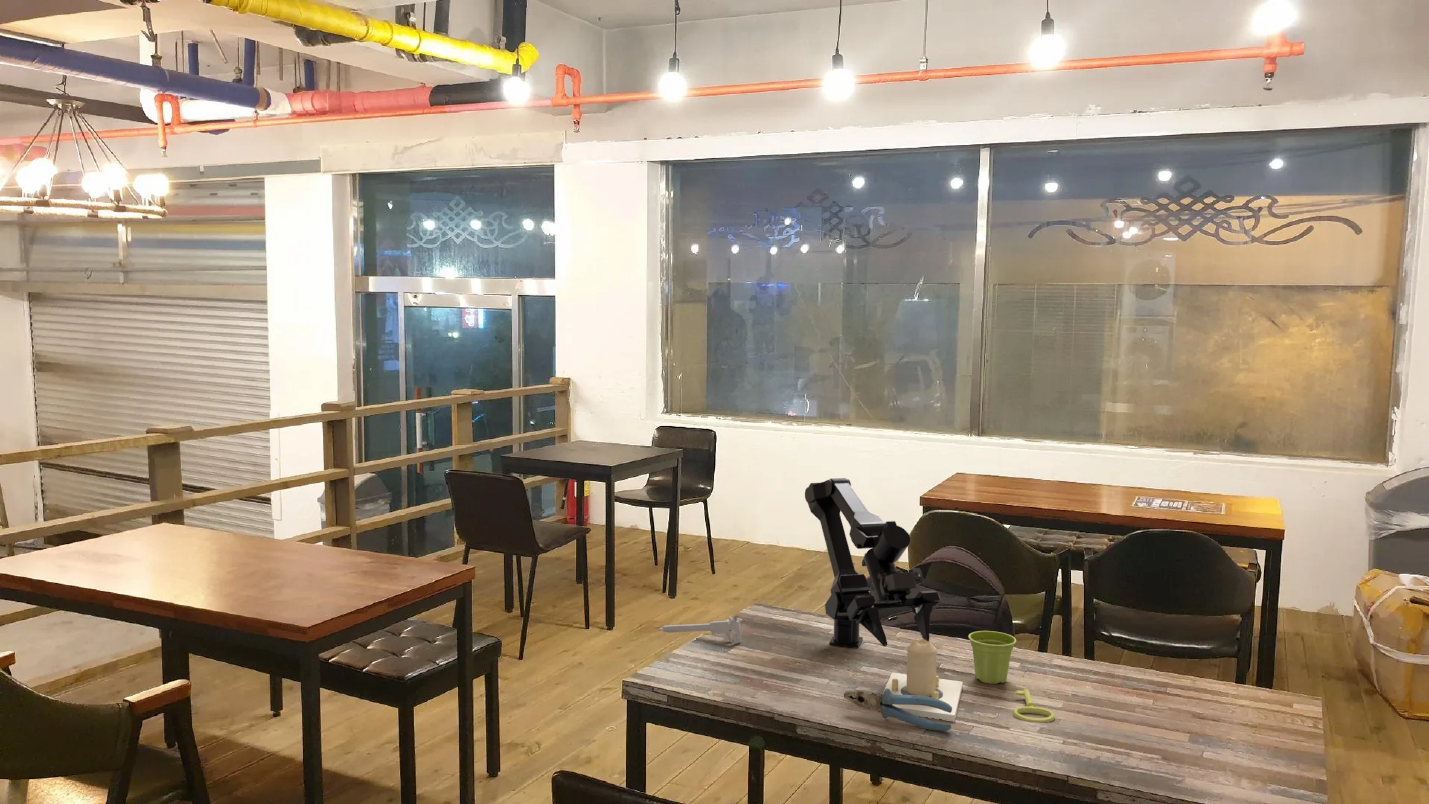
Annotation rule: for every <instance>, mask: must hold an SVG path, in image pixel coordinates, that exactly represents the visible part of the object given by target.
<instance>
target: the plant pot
mask: <svg viewBox="0 0 1429 804" xmlns="http://www.w3.org/2000/svg"><path fill="white" fill-rule="evenodd" d="M968 639H969V641H970V646H971V647H972V654H973V655H972V656H973V663H974V665H973V667H974V673H975V679H976V680H979V681H980V682H982V683H984V684H990V685H995V684H996V685H997V684H999V683H1002V684H1004V683H1005V682H1007V680H1008V673H1009V667H1010V661H1011V656H1012V652H1013V650H1014V646H1015V644H1017V639H1016V638H1015V636H1013V635H1011V634H1007V633H1005V632H999V631H993V630H992V631H991V630H979V631H978V630H977V631H973V632H971V633H969V634H968Z"/></svg>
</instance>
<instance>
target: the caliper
mask: <svg viewBox="0 0 1429 804" xmlns="http://www.w3.org/2000/svg"><path fill="white" fill-rule="evenodd" d="M732 630H733V631H734V633H735V638H736V643H737V644H739V643H741V642H742V627H741V622H740V620H738V619H737V615H734V616H733V617H732V615H730V616H729V617H728V620H719V621H717V620H716V621H714V620H713V621H711V622H709V623H690V624H688V623H687V624H670V625H663V626H662V627H660V628H658V630H657V631H659V632H661V631H662V632H663V633H686V632H687V633H688V632H710V631H711V634H712V635H716V634H717V635H719V634H722V633H725V634H726V637H727V639H728V641H729V643H731V644H732V643H734V642H735V639H734V635H733V631H732Z"/></svg>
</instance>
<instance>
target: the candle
mask: <svg viewBox="0 0 1429 804" xmlns="http://www.w3.org/2000/svg"><path fill="white" fill-rule="evenodd" d="M906 651H907V652H906V657H907V658H906V675H907V692H908V693H909V694H911V695H921V696H927V697H929V696H932V691H936V675H937V652H938V651H937V648H936V647H935V646H934V645H933V644H932V642H931V641H930V640H929V641H926V640H925V639H923V638H922V639H920V640H917V639H913V641H912V642H911V643H910V644H909V645H908V646H907V650H906Z"/></svg>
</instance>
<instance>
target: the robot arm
mask: <svg viewBox="0 0 1429 804" xmlns="http://www.w3.org/2000/svg"><path fill="white" fill-rule="evenodd" d="M804 498H805V501H806V503H807V505H808V508H809V511H810V513H811V514H812V515H813V516H814V517H816V519H817V520H819V522H820V527H821V530H822V534H823V538H824V542H825V545H826V549H827V553H828V557H829V561H830V564H831V569H832V572H833V576H834V577H833V578H834V579H833V582H832V585H831V588H830V594H831V595H829V598H827V601H826V602H825V604H824V609H825V615H826V616H828V617H830V618H831V619H832V620H833V636H832V638H831V639H830V641H829V643H828V645H831V646H837V647H838V646H839V647H848V648H859V647H860V645H861V643H862V642H863V639H864V637H862V636H860V625H861V626H863V627H864V628H865V630H867V631H868V632H870V633H871V635H872V636H874V638H876V640H877V641H878V642H879V643H880V644H881V646H883V647H887V646H888V641H887V636H886V633H885V631H884V630H885V629H884V628H883V626H882V623H881V619H880V612H879V611H891V610H892V611H893V610H905V609H906V610H907V609H911V610H912V613H913V614H915V615H914V617H913V619H914V621H915V623H916V626H917V629H918V630H919V633H920V636H921V637H922V639H925V640H926V641H930V621H931V614H933V612H934V611H935V610H936V608H938V606H939V605H940V604H941V603H942V597H941V596H940V594H939V593H938V591H937V590H933V589H932V590H921V591H920V590H919V591H918V593H917V594H916V595H915V596H914V597H913V598H911V597H910V598H907V596H910V594H911V593H912V591H911V590H912V589H917V588H918V586H919V585H922V584H923V583H924V577H923V576H924V575H923V573H922V571H921V568H920V567H916V568H910V569H908V571H905V572H902V571H900V570H897V567H896V564H895V563H896V562H898V561H899V560H900V558H901V557H902V556H903V554H904V552H905V551H906V550H907V548H908V547H909V545H910V543H911V536H910V533H909V532H908V531H907V530H905V529H904V527H902V526H900V525H897V523H896V521H895V520H888V521H886V522H885V521H884V520H883V519H882V518H881V517H880V516H879V515H877V514H874V513H871V512H870V511H869V510H868V509H867V507H866V506H865V504H863V502H862V499H860V497H859V496H858V494H857V493H856V492H855V490H854V488H853V487H852V483H851V481H850V479H848V478H845V477H840V478H838V477H837V478H829V479H827V480H825V481H821V482H811V483H809V485H808V487H806V488H805V491H804ZM841 513H842V515H843V517H844V518H845V519H846V521H847V523H848V524H849V527H850V530H849V534H848V535H849V538H850V541H851V542H852V543H853V546H855V548H856V549H858V550H859V549H861V550H863V549H869V550H868V551H866V552H865V553H864V556H863V559H862V561H861V567H866V568H867V572H868V575H869V578H870V581H871V584H870V585H868V581H867V580H868V579H867V577H866V576H865V574H864V573H860V574H859V573H858V572H857V571H856V569H855V564H854V561H853V558H852V554H851V551H850V547H849V543H848V540H847V536H846V533H845V532H846V531H845V529H844V525H843V520H842V518H841ZM871 591H873V592H874V593H875V597H874V596H873V595H872V593H871ZM876 599H877V600H876Z"/></svg>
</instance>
